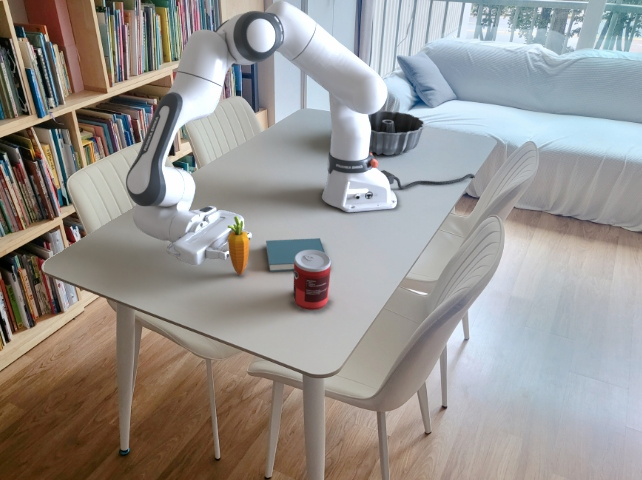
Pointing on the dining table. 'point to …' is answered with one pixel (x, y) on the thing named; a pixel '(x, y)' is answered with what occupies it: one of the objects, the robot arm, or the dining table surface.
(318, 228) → the dining table surface
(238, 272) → the carrot
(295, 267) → the canned food
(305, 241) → the blue hardcover book
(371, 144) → the bundt pan
